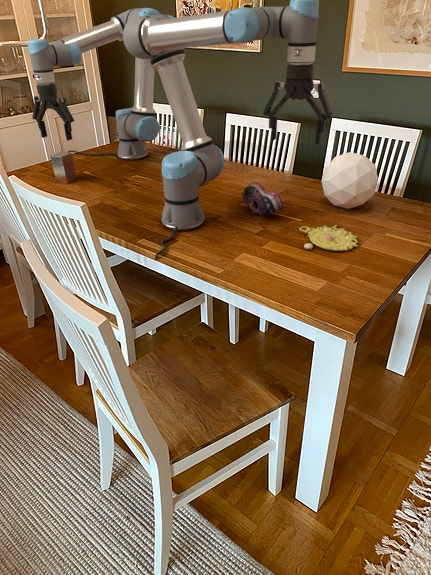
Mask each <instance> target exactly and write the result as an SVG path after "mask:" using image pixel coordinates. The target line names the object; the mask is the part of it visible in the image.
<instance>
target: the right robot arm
mask: <svg viewBox="0 0 431 575" xmlns="http://www.w3.org/2000/svg"><path fill="white" fill-rule="evenodd" d="M319 7H320V2H319V0H290V1H289V5H287V6H258V7H247V6H246V7H243V6H242V7H237V8H234V9H230V10H222V11H216V12H214V11H213V12H209V13H202V14H195V15H186V16H180V17H175V16H172V15H169V14H162V13H160V14H159V15H151V16H137V17H134V18H132V19H131V20H129V21H128V22H127V24H126V25H125V28H124V31H123V41H122V42H123V45H124V47H125V50H127V52H128V53H129V54H130V55H131V56H133V57H134V58H139V59H149V60H150V63H151V66H152V68H154V69H155V70H156V71H157V72H158V74H159V78H160V80H161V84H162V86H163V91H164V92H165V95H166V99H167V101H168V104H169V107H170V110H171V113H172V115H173V119H174V121H175V125H176V128H177V130H178V134H179V136H180V139H181V142H182V145H181V147H180V150H178V151H174V152H171V153H169V154H167V155H165V156H164V157H163V159H162V161H161V176H162V185H163V195H164V204H163V209H162V213H161V219H160V220H161V225H162V227H163V228H165V229H167V230H170V231H172V232H171V234H170V236H169V237H168V238H164V239H162V240H161V241H160V246H162V247H163V248H161V249H160V250H159V251H157V252H156V254H155V256H154V261H158V257H159V256H160V254H162V253H164V252H165V251H167V248H168V247H167V245H166V244H165V243H166V242H169V241H171V240H172V239H173V238H174V235H175V234H176V231H177V232H185V231H186V232H187V231H192V230H195V229H198V228H201V227H202V226H203V225H204V224H205V223H206V217H205V212H204V210H203V208H202V204H201V202H200V196H199V188H200V187H202V186H203V185H204V184H207V183H209V182H210V181H214V180H215V179H216V178H218V177H219V176H220V175H221V174H222V172H223V171H224V169H225V163H226V162H225V155H224V153H223V151H222V149H221V148H220V147H218V146H217V145H215V143H214V141H213V139H212V138H211V137H210V136H208V135H207V134H206V131H205V128H204V125H203V121H202V118H201V115H200V112H199V109H198V105H197V102H196V99H195V97H194V94H193V91H192V87H191V84H190V81H189V78H188V74H187V72H186V68H185V65H184V60H185V57H186V54H185V50H184V49H190V48H199V47H209V46H217V45H218V46H219V45H229V44H230V45H231V44H245V43H246V44H247V43H250V42H254V41H263V40H271V39H272V40H273V39H275V40H277V39H285V40H286V39H287V54H286V56H287V58H286V61H287V63H288V64H287V65H286V74H285V75H286V76H285V82H284V81H283V82H282V81H281V80H278V81H275V82H274V88H273V92H272V93H271V96H270V98H269V99H268V101H267V103H266V105H265V108H264V110H263V112H262V114H263V115H264V116H267V117H268V128H269V129H271V137H270V138H271V139H270V140H271V141H273V142H274V141H275V140H277V134H278V116H276V115H277V114H278V112H279V111H280V110H281V109H282V108H283V106H284V105H285V104H286V103H287V102H288V101H289V99H291V100H293V101H294V100H300V101H303V100H305V101H306V102H307V103H308V104H309V106H310V107H311V109H312V110H313V112H314V113H315V115H316V116H317V117H318V119H317V121H316V129H315V130H316V131H315V141H314V145H319V144H320V143H321V135H322V134H321V133H324V132H325V129H326V128H325V127H326V121H327V120H330V119H332V118H333V115H334V114H333V112H332V109H331V106H330V103H329V100H328V98H327V95H326V92H325V83H324V82H323V81H322V82H319V83H314V72H315V64H314V62H315V61H316V48H317V35H318V27H319V26H318V24H319V18H320V16H319ZM283 89H284V90H285V92H286V93H285V94H284V95H283V96H282V99H280V101H278V103H277V104H276V105H275V106H274V104H275V102H276V100H277V98H278V96H279V93H280V92H281V91H282V90H283ZM314 89H315V92H316V93H317V95H318V98H319V101H320V103H321V106H322V108H321V106H320V104H318V102H317V101H316V99H315V97H314V95H313V93H312V91H313V90H314ZM273 106H274V107H273ZM272 108H273V109H272ZM322 109H323V110H322Z"/></svg>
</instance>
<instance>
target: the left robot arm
mask: <svg viewBox="0 0 431 575" xmlns="http://www.w3.org/2000/svg"><path fill="white" fill-rule="evenodd" d="M159 14H161V13H160V12H159V11H158V10H157V9H154V8H151V7H137V8H135V7H134V8H131V9H128V10H126V11H124V12H122V13H119V14H117V15H114V16H112V17H111V18H110V20H109V21H107V22H104V23H101V24H99V25H95V26H92V27H90V28H87V29H85V30H82V31H78V32H75V33H73V34H71V35H67V36H64V37H61V38H60V39H57V40H55V41H48V39H46V38H39V39H38V38H37V39H35V38H34V39H29V40H28V41H27V48H28V49H27V50H28V55H29V58H30V63H31V67H32V71H33V76H34V82H35V83H36V92H37V95H34V96H33V101H34V103H33V110H32V117H31V118H32V120H35V121H36V123H37V127H38V130H39V131H40V132H39V133H40V136H41V138H42V139H44V138H47V137H48V132H47V128H46V122H45V120H44V117H45V114H46V112H47V110H49V109H50V110H53V111H55V113H56V114H57V115H58V116H59V117H60V119H61V120H62V121H63V128H64V133H65V138H66V141H67V142H69V141H71V140H73V135H72V132H73V129H72V123H74V122H75V119H74V116H73V114H72V113H71V111H70V109H69V108H68V105H67V104H66V101H65V98H64V97H63V96H61V97H58V88H57V84H56V77H55V75H54V74H55V73H54V67H58V66H59V67H60V66H61V67H62V66H75V65H80V63H81V62H82V54H84V53H87V52H89V51H92V50H94V49H97V48H100V47H102V46H105V45H109V44H110V43H113V42H115V41H119V42H124V41H123V31H124V28H125V25H126V24H127V22H128V21H129V20H131V19H132V18H134V17H137V16H151V15H159ZM134 58H135V59H134V60H135V61H134V62H135V64H134V98H133V99H134V100H133V106H132V107H129V108H123V109H122V108H121V109H117V110H116V111H115V120H116V127H117V135H118V141H119V142H118V150H117V151H116V152H103V153H88V152H84V151H79V150H78V151H77V150H72V149H71V150H67V152H68V153H76V154H80V155H85V156H106V155H107V156H108V155H110V156H111V155H117V158H118V159H119V160H123V161H138V160H143V159H146V158H147V157H148V156H149V152H148V148H147V147H146V144H145V143H150V142H152V141H154V140H155V139H156V138H158V135H159V133H160V128H161V127H160V122H159V121H158V120H157V118H156V117H157V111H156V110H155V108H154V92H155V90H154V88H155V72H156V71H155V69H154V68H152V66H151V63H150V60H149V59H139V58H136V57H134Z"/></svg>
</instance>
